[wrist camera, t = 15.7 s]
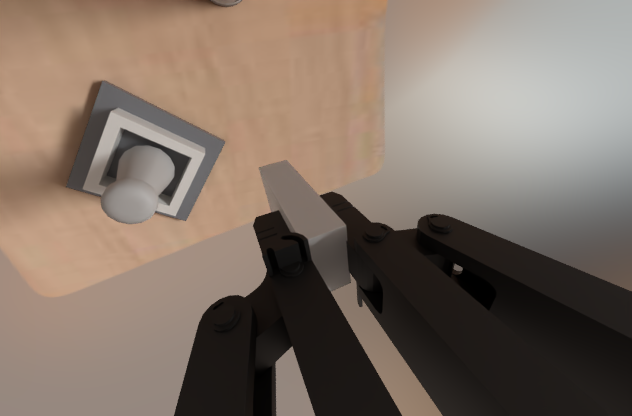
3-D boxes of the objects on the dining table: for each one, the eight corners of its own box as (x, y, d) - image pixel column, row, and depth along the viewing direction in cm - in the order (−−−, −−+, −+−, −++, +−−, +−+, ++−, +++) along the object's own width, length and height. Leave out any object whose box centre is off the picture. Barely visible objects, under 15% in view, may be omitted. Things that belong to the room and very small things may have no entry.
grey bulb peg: (131, 184, 32) (98, 239, 22) (117, 141, 30) (72, 181, 19) (180, 180, 34) (171, 228, 24) (171, 140, 32) (156, 175, 21)
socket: (105, 80, 27) (92, 82, 24) (224, 140, 35) (226, 147, 32) (69, 183, 31) (54, 197, 27) (186, 217, 38) (184, 231, 35)
